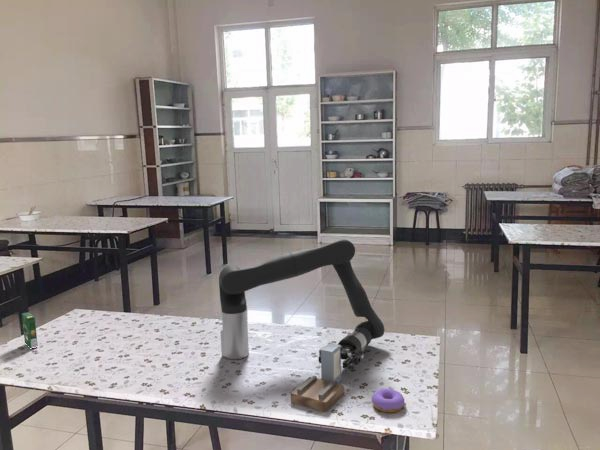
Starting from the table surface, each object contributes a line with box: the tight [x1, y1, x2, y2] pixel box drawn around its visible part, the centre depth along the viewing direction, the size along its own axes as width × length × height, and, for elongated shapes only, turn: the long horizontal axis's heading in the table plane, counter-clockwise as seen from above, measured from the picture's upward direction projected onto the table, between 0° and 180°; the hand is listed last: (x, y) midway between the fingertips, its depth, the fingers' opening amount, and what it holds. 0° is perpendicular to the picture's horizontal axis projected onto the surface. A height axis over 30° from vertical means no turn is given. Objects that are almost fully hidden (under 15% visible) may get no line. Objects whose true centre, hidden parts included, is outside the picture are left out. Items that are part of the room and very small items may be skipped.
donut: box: [371, 388, 405, 413], centre depth 148 cm, size 10×9×5 cm
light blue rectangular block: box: [320, 342, 342, 383], centre depth 162 cm, size 4×6×12 cm
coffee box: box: [21, 312, 39, 349], centre depth 200 cm, size 8×3×13 cm, turn 44°
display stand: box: [290, 375, 345, 413], centre depth 153 cm, size 12×12×4 cm
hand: (331, 362), depth 163 cm, fingers open, 8 cm apart
